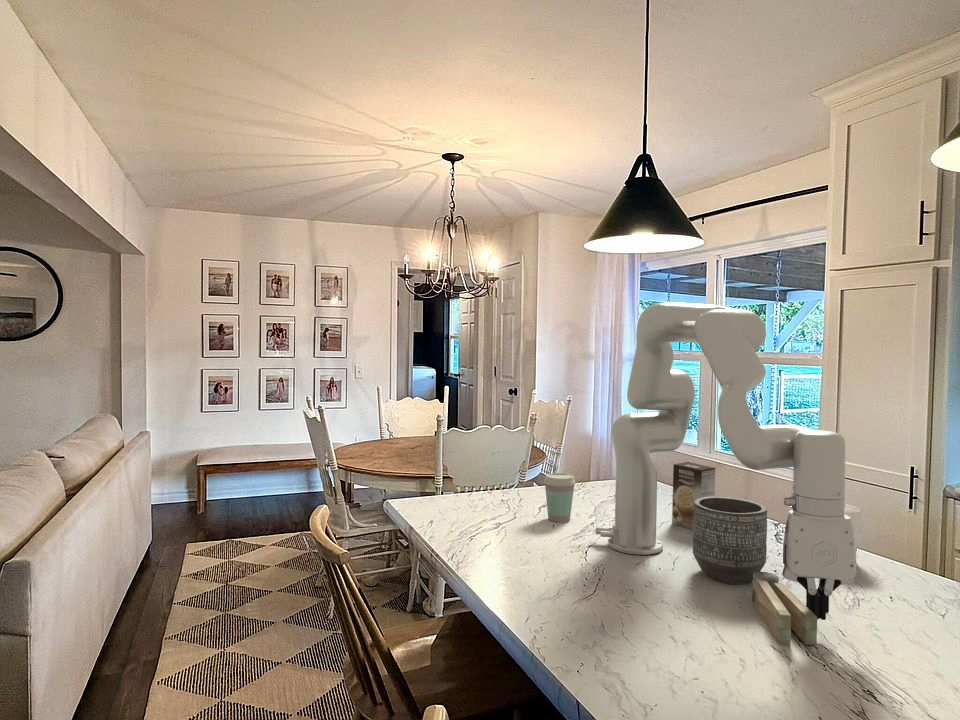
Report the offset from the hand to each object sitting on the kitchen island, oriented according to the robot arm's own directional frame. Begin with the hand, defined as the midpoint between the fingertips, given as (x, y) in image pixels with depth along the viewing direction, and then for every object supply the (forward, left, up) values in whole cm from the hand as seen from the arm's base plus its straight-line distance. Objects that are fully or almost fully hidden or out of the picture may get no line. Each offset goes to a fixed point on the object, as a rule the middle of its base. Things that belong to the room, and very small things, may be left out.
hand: (817, 616), depth 104 cm
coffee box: (-11, +62, -4) cm, 63 cm away
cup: (+17, +41, -4) cm, 44 cm away
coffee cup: (-46, +60, -4) cm, 75 cm away
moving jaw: (-3, +3, -3) cm, 5 cm away
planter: (-9, +26, -4) cm, 27 cm away
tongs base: (-5, +5, -3) cm, 8 cm away
